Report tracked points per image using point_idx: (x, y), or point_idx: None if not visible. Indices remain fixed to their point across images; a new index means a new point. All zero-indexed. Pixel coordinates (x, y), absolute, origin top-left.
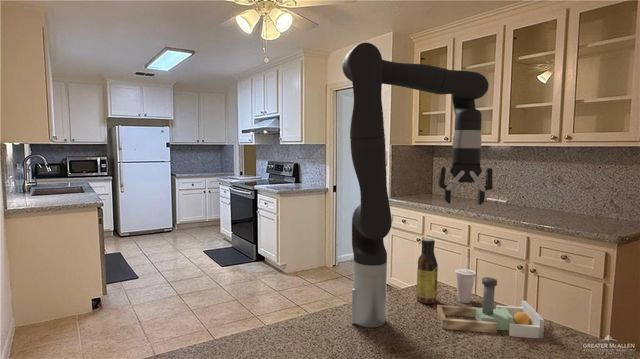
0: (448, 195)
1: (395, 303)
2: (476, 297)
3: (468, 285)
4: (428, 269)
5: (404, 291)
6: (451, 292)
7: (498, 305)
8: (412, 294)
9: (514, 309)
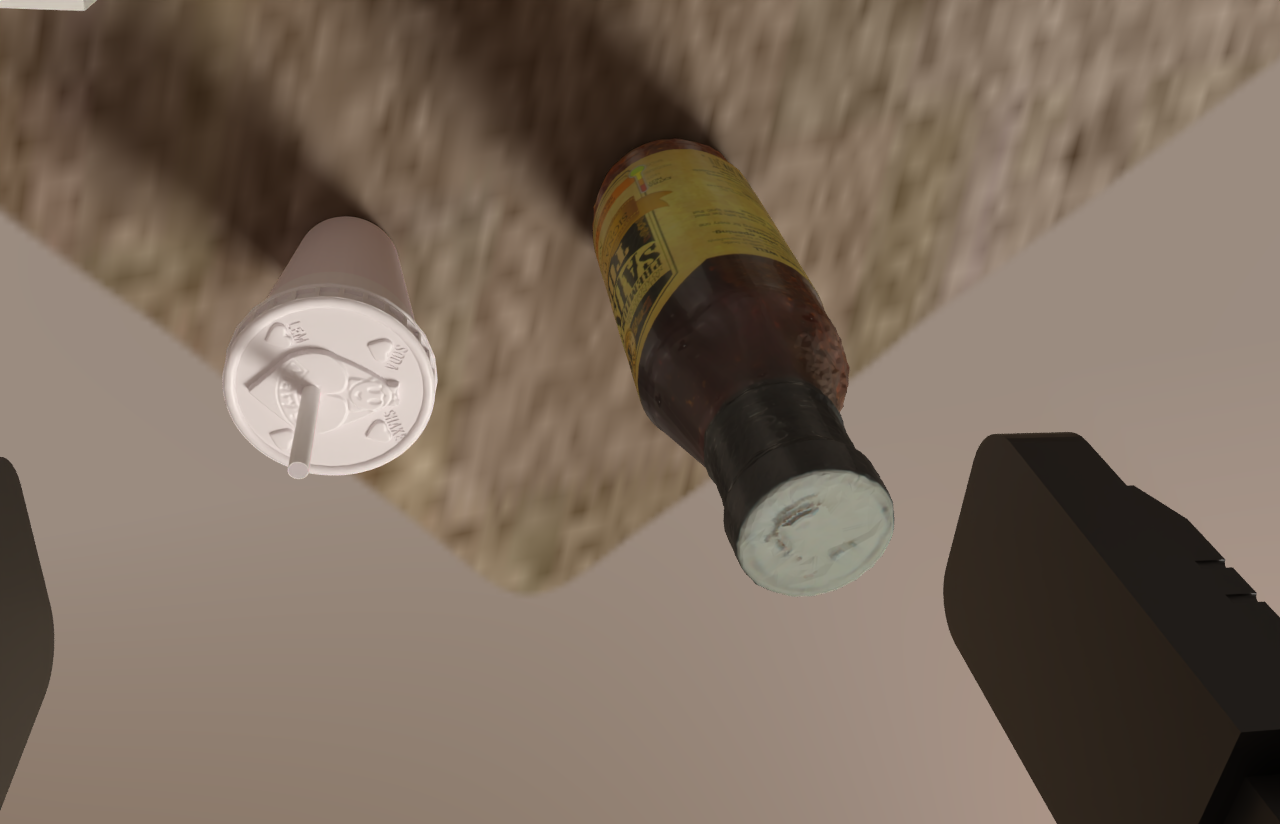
0: (1207, 578)
1: (932, 114)
2: None
3: (315, 267)
4: (747, 264)
5: None
6: None
7: (62, 8)
8: None
9: None
